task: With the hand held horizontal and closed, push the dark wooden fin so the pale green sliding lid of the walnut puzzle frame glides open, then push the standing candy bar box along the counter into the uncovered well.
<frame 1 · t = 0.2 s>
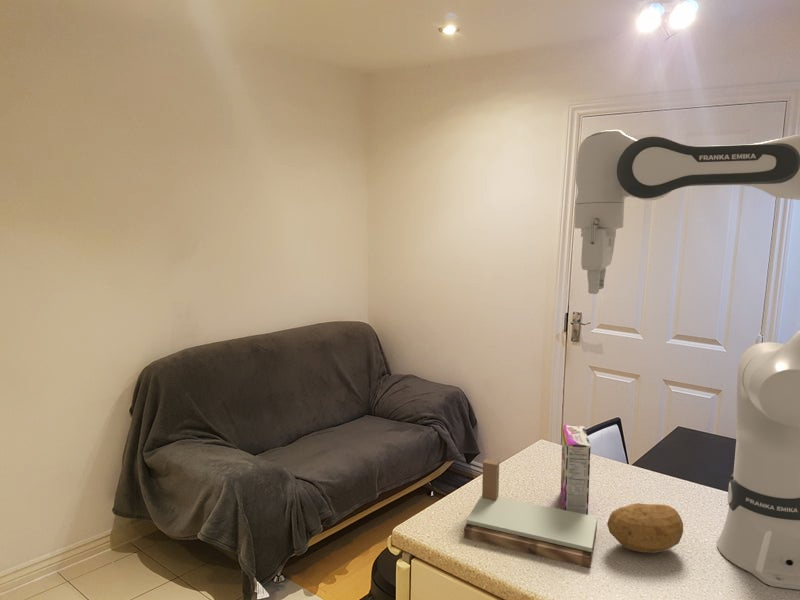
hand: (596, 291, 107), 48 cm above the kitchen counter, tool pointing down, fingers open, 8 cm apart
puzzle frame: (533, 531, 109), on the kitchen counter
lid: (532, 501, 108), point 7 cm above the kitchen counter, slide at 0.0 cm
candy bar box: (572, 507, 119), on the kitchen counter
potato: (642, 548, 104), on the kitchen counter
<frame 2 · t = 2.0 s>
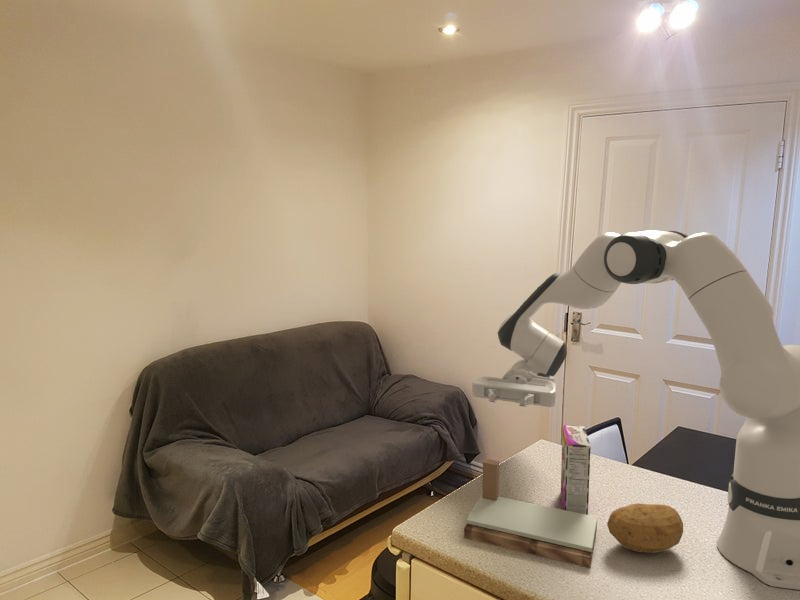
hand: (507, 401, 127), 20 cm above the kitchen counter, tool horizontal, fingers open, 6 cm apart
nothing on the kitchen counter moved.
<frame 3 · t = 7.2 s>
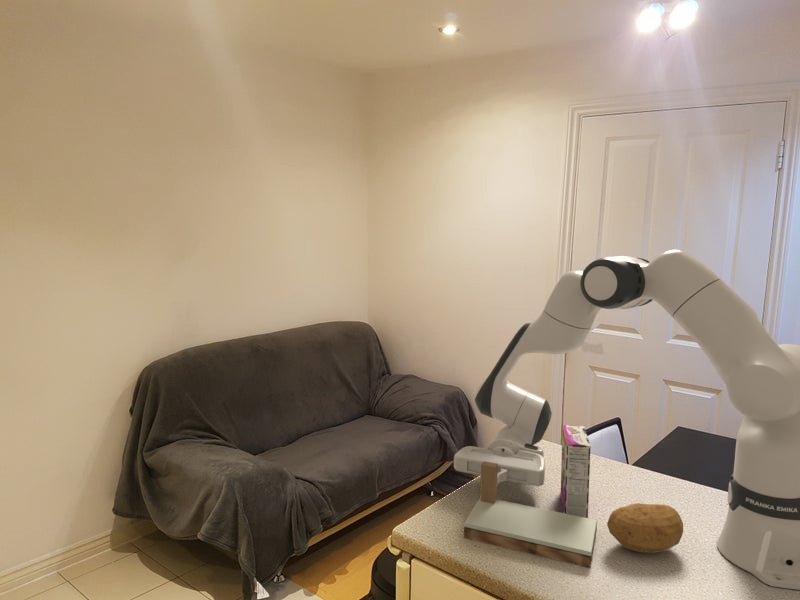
hand: (490, 480, 116), 7 cm above the kitchen counter, tool horizontal, fingers closed, pressing on lid
lid: (531, 504, 107), point 7 cm above the kitchen counter, slide at 1.3 cm, touching gripper
everything else where it was.
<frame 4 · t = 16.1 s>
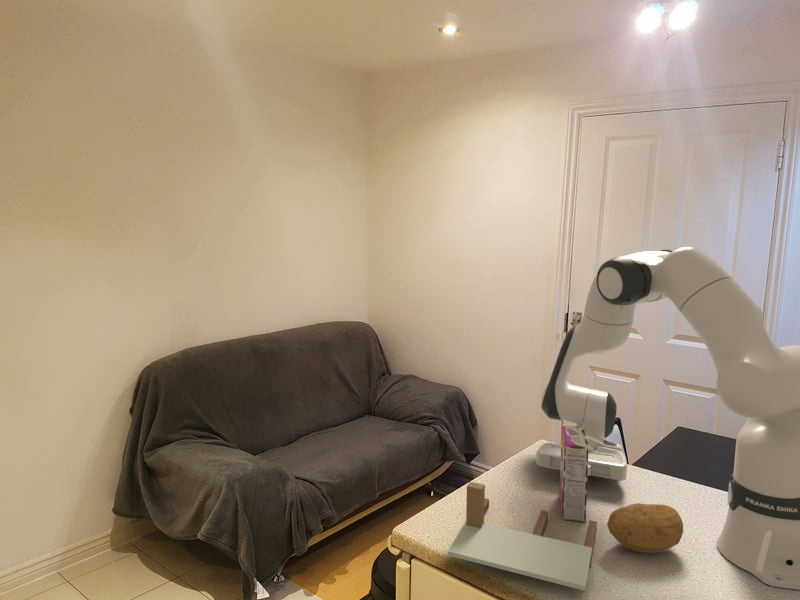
hand: (577, 475, 123), 5 cm above the kitchen counter, tool horizontal, fingers closed
lid: (520, 530, 98), point 7 cm above the kitchen counter, slide at 11.4 cm
candy bar box: (571, 508, 118), on the kitchen counter, touching gripper
everything else where it was.
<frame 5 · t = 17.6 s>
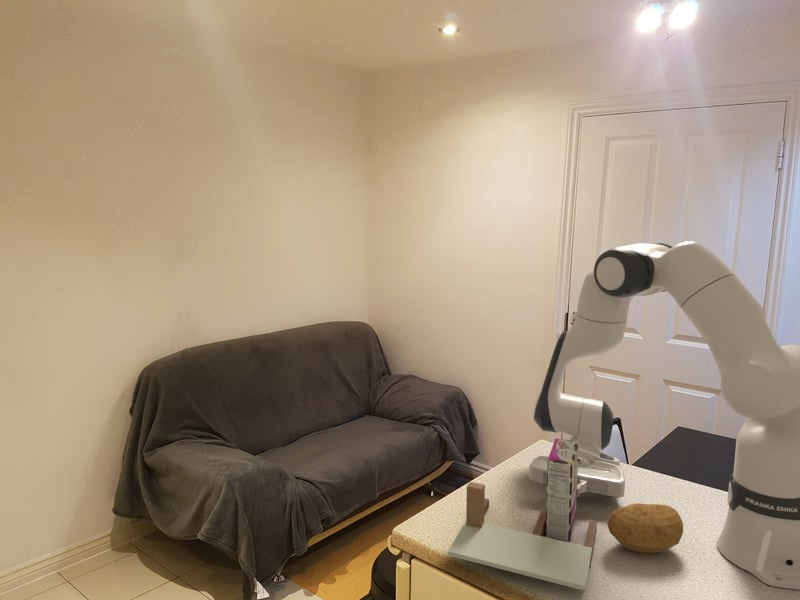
hand: (571, 492, 115), 5 cm above the kitchen counter, tool horizontal, fingers closed, pressing on candy bar box
candy bar box: (560, 527, 111), on the kitchen counter, touching gripper
everything else where it was.
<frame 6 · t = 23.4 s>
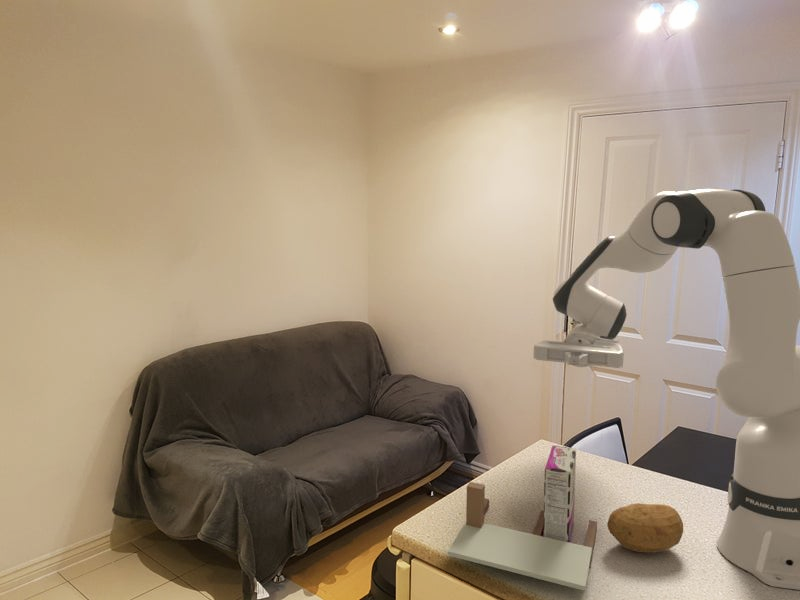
hand: (574, 361, 123), 30 cm above the kitchen counter, tool horizontal, fingers closed
candy bar box: (558, 537, 108), on the kitchen counter
everything else where it was.
at the end: lid slide at 11.4 cm; candy bar box 1.3 cm from the target spot on the puzzle frame, point 0.0 cm above the puzzle frame's base; candy bar box tilted 0° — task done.
